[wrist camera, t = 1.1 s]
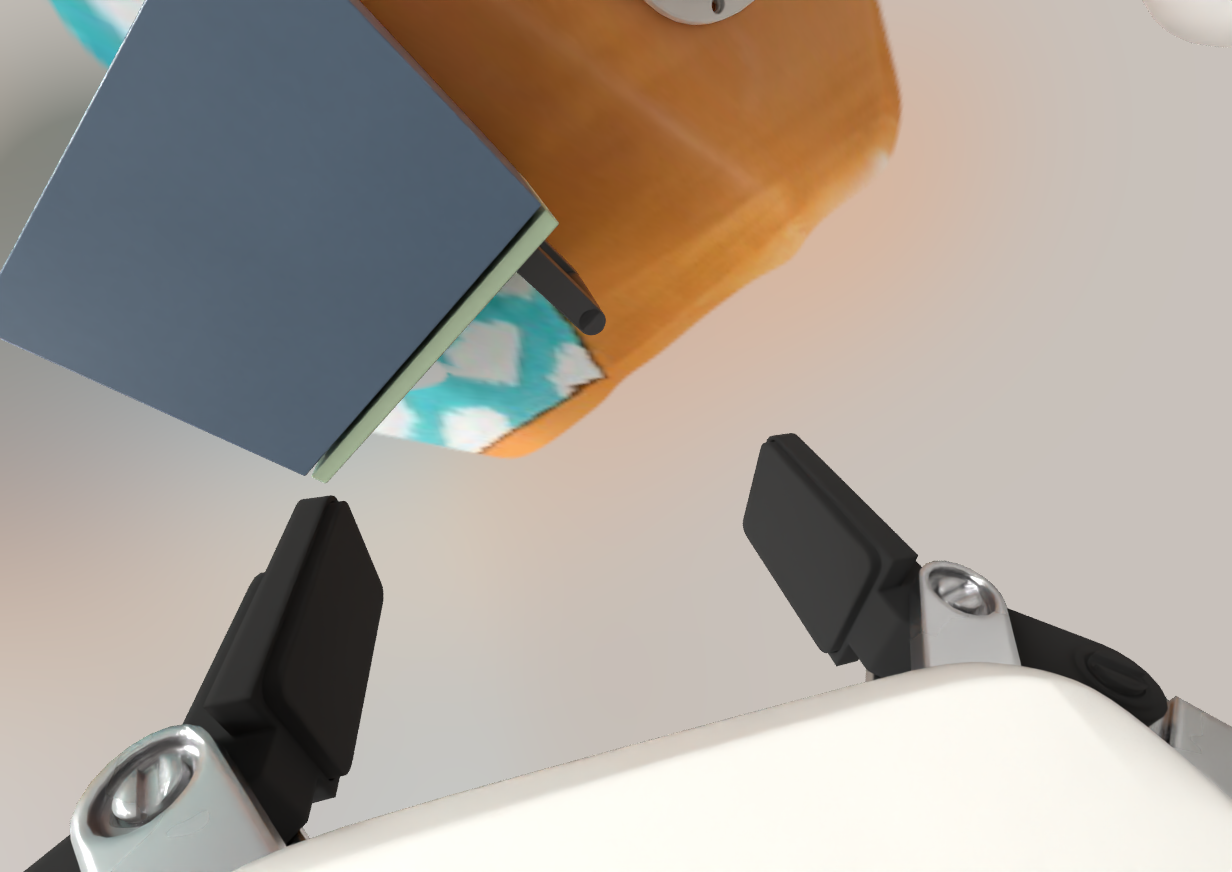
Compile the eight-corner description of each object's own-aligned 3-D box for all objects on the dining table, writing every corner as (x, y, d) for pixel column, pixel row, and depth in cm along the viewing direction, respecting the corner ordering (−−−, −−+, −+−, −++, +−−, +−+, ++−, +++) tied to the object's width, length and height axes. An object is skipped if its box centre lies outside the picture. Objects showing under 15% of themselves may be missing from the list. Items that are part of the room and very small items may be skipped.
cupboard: (515, 168, 33) (542, 205, 19) (367, 345, 37) (304, 476, 24) (351, -8, 26) (217, -141, 13) (194, 232, 31) (-31, 326, 17)
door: (586, 245, 37) (649, 318, 24) (445, 397, 41) (430, 531, 28) (518, 171, 33) (546, 209, 20) (370, 347, 37) (310, 477, 24)
